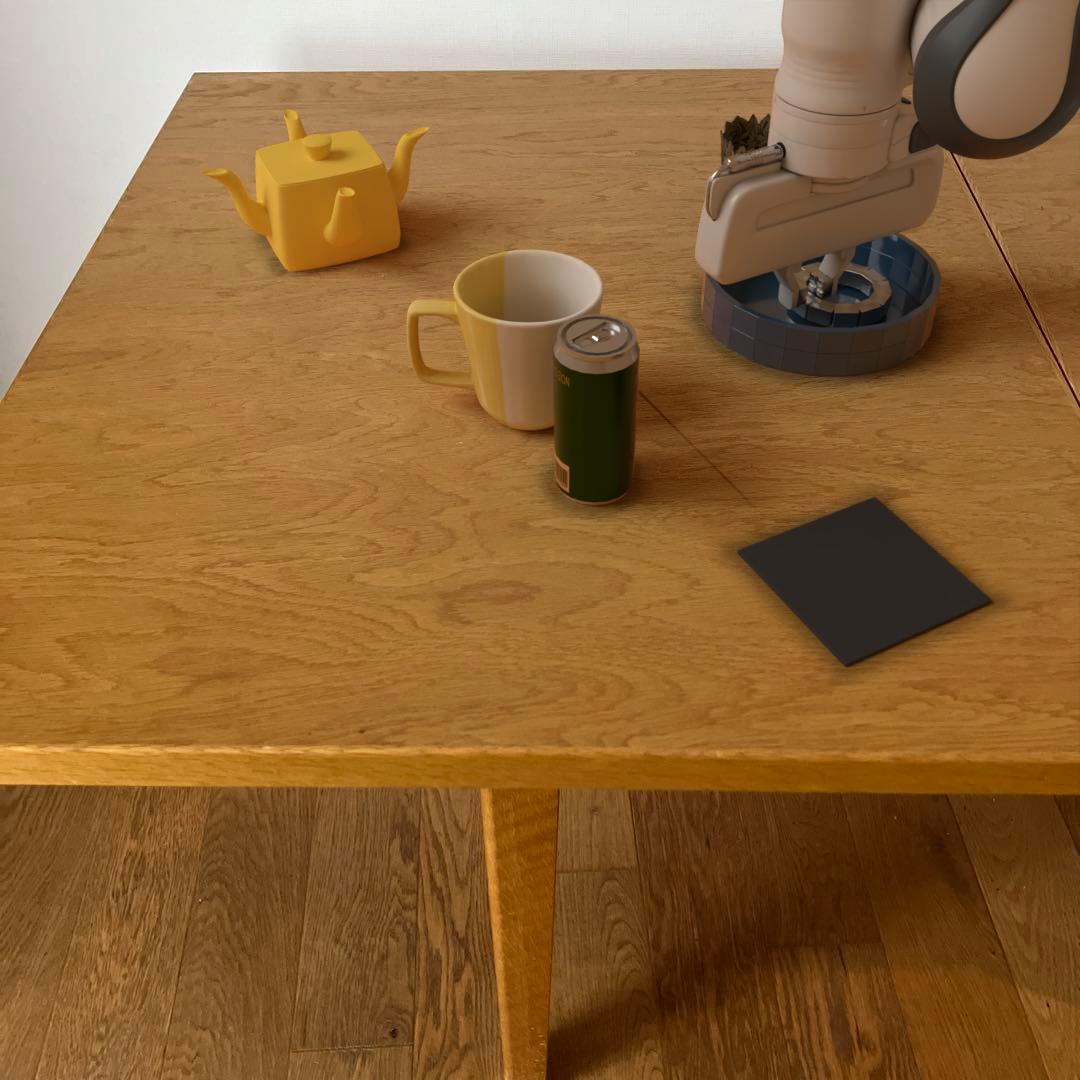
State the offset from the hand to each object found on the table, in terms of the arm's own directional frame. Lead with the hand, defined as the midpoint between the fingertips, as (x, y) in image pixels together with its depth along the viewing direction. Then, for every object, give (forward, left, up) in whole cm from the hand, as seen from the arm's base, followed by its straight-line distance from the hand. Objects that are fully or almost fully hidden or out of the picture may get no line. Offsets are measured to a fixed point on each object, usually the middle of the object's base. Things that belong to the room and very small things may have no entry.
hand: (806, 299), depth 95 cm
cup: (-7, -17, -2) cm, 19 cm away
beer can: (+25, +10, -2) cm, 27 cm away
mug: (+26, -1, -2) cm, 26 cm away
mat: (+15, +26, -2) cm, 30 cm away
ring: (-3, 0, -1) cm, 3 cm away
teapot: (+29, -31, -2) cm, 43 cm away
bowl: (-1, 0, -2) cm, 2 cm away
